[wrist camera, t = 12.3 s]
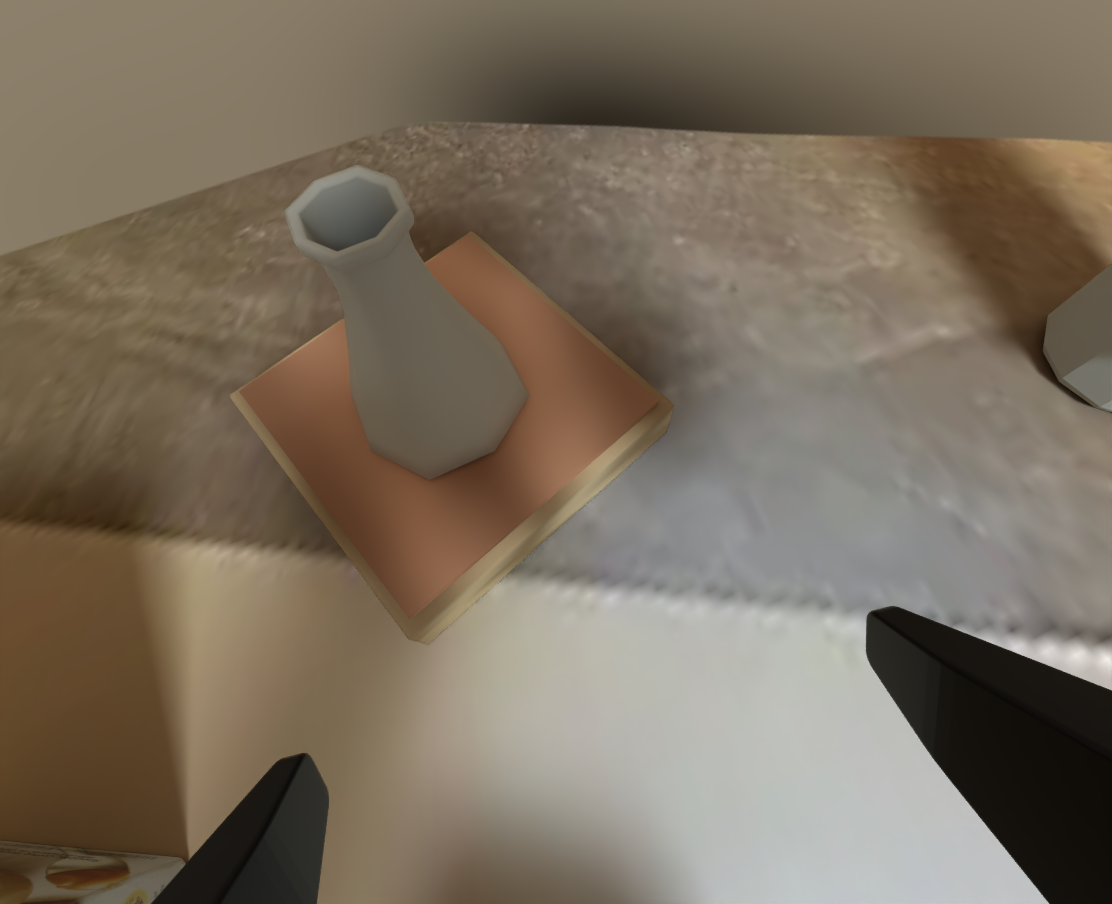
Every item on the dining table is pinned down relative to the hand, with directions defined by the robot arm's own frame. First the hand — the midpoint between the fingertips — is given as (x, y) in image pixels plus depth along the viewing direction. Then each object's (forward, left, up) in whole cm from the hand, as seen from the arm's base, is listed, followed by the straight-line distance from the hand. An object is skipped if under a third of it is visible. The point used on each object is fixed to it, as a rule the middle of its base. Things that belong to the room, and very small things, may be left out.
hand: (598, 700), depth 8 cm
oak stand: (+3, +13, -14) cm, 19 cm away
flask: (+3, +13, -11) cm, 17 cm away
